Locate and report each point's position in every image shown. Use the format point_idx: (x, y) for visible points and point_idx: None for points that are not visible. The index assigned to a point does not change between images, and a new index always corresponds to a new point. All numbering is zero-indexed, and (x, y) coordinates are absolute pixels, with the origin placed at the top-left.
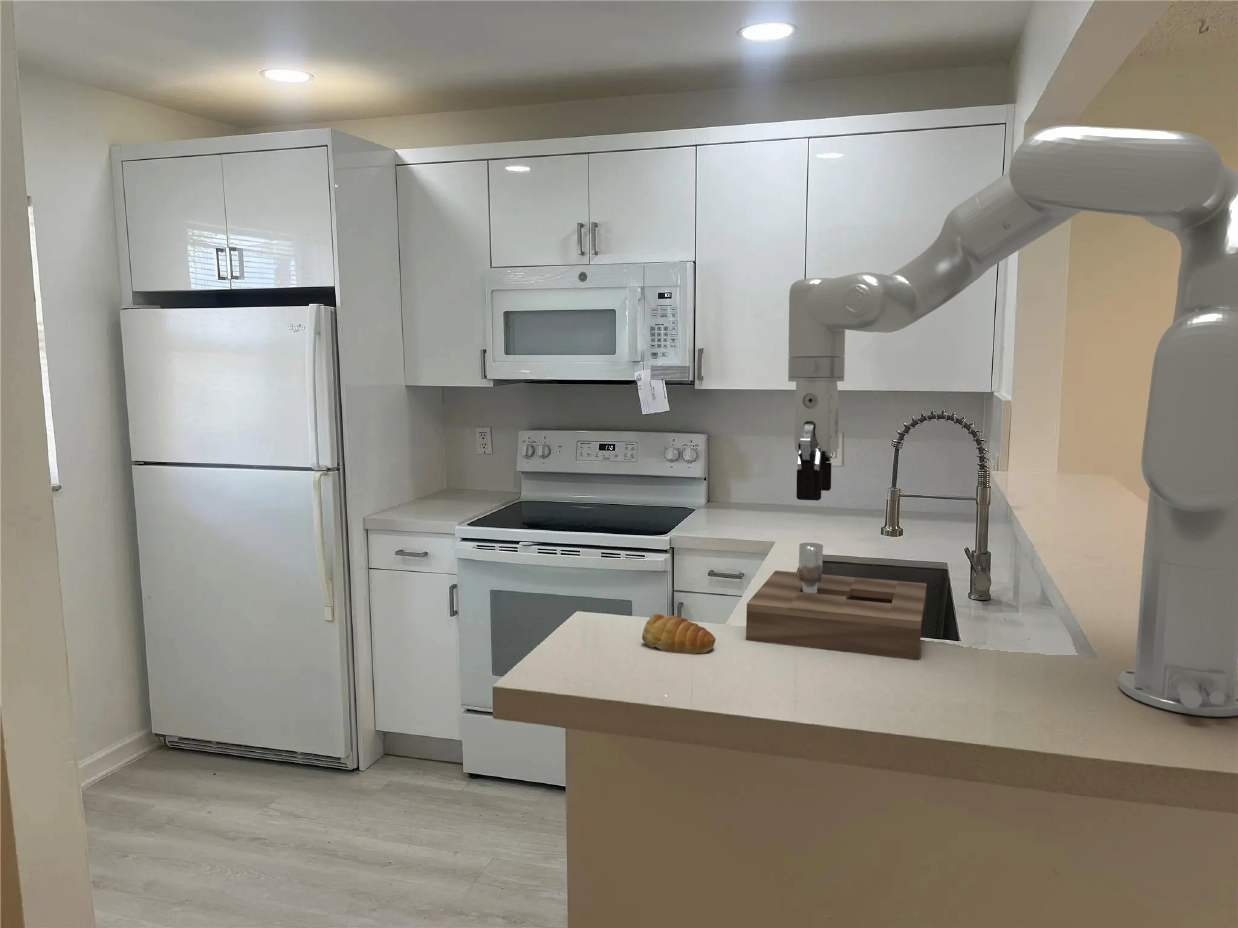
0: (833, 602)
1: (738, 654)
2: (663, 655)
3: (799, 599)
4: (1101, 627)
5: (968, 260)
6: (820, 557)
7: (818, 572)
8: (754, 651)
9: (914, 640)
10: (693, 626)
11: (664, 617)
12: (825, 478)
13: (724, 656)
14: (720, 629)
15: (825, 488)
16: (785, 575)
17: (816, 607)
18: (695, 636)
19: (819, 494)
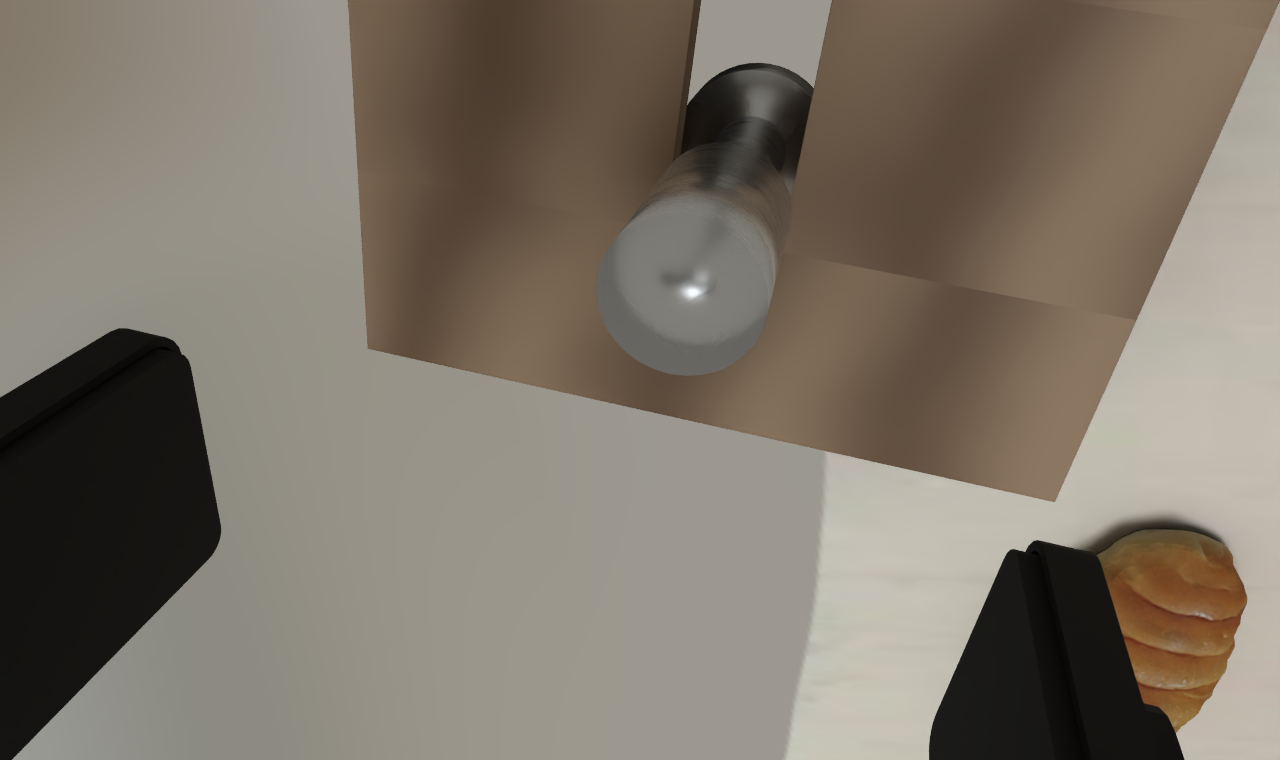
0: (999, 59)
1: (1238, 438)
2: (1240, 668)
3: (948, 255)
4: None
5: None
6: (740, 204)
7: (768, 184)
8: (1195, 379)
9: None
10: (1157, 642)
11: None
12: (83, 472)
13: (1264, 487)
14: (886, 490)
15: (178, 395)
16: (451, 306)
17: (1131, 167)
18: (1226, 623)
19: (1104, 609)
